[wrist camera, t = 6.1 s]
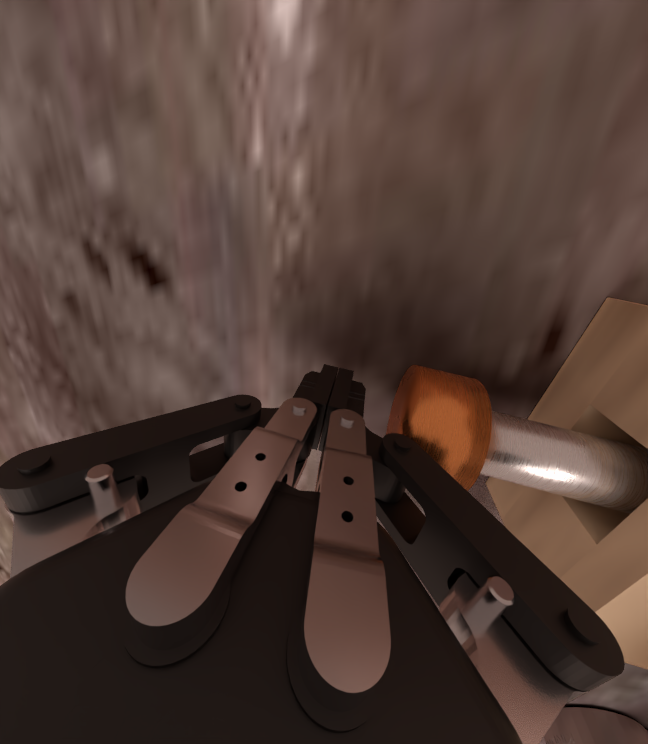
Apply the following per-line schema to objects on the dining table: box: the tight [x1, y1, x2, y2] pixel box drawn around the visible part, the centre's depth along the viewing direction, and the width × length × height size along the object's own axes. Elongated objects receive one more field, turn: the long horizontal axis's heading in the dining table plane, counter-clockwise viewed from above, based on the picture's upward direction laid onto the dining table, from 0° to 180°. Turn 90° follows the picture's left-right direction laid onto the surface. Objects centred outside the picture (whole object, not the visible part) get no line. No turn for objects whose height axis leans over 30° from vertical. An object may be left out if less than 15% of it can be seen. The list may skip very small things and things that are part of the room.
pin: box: [386, 365, 648, 514], centre depth 11 cm, size 15×5×5 cm, turn 80°
